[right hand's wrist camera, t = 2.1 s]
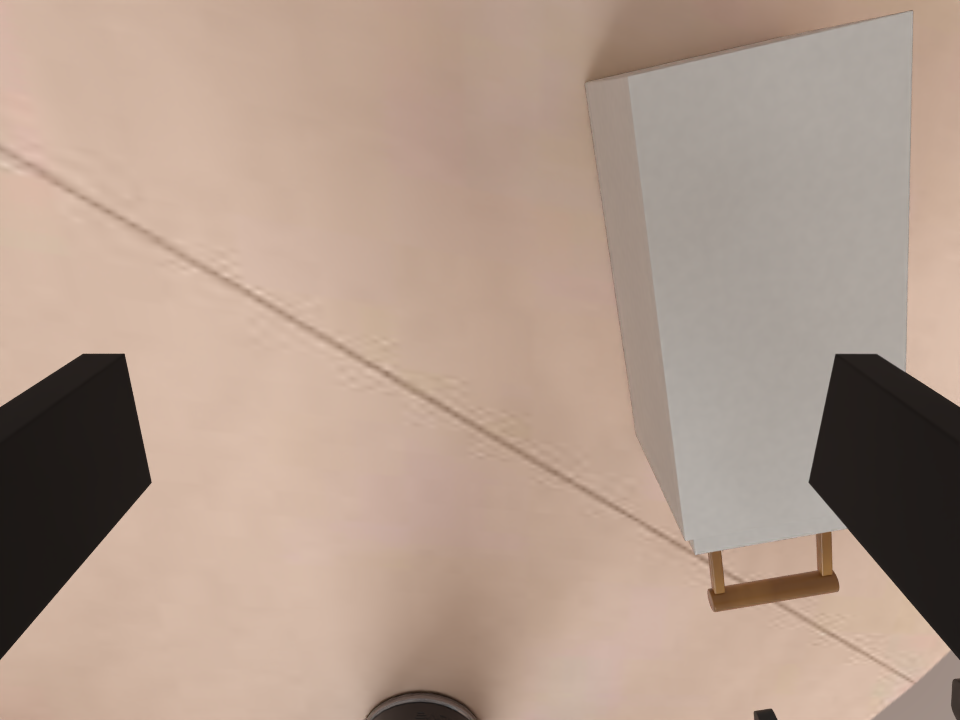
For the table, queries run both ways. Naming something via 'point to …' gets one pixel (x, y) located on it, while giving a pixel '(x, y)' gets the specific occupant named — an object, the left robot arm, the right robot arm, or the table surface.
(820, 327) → the cabinet
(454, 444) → the table surface
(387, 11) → the table surface
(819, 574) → the drawer
